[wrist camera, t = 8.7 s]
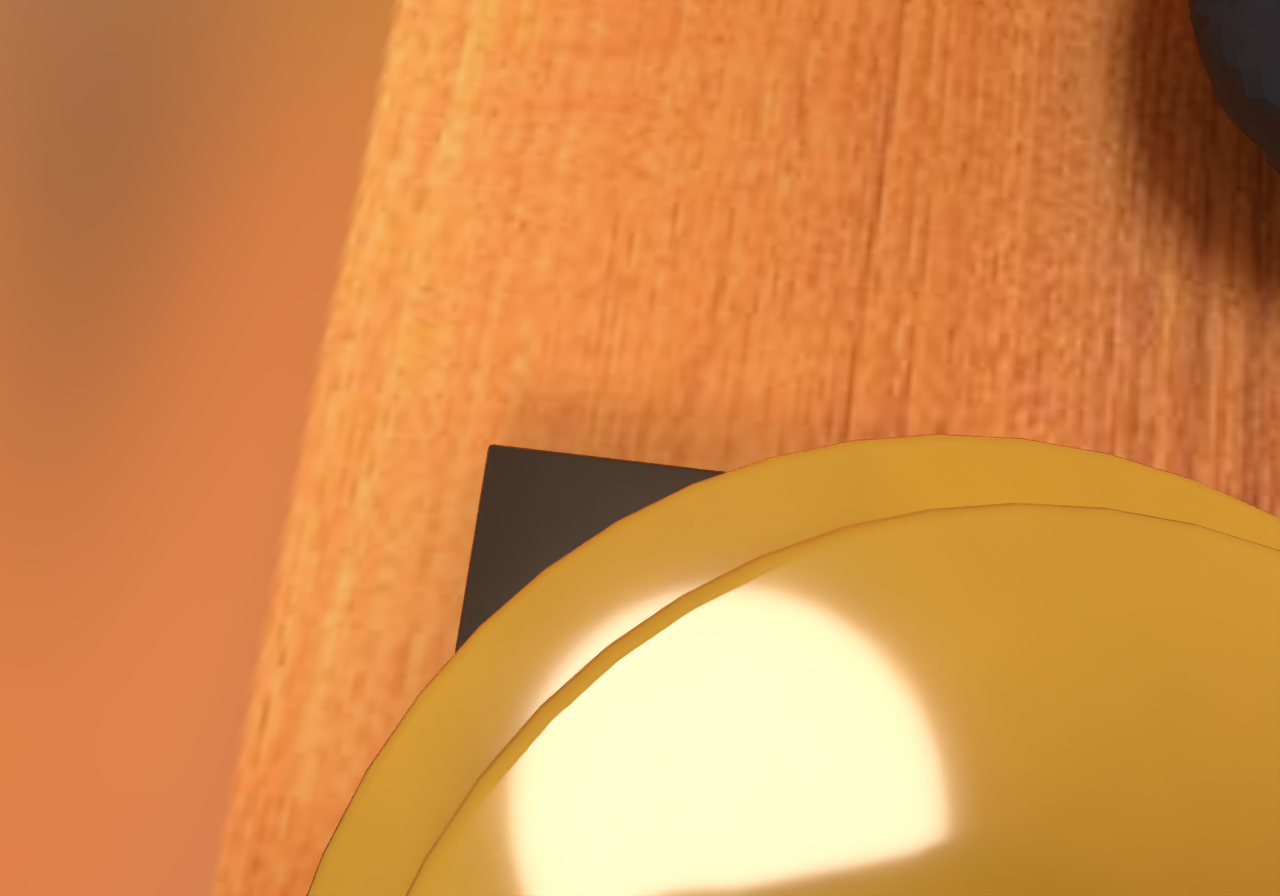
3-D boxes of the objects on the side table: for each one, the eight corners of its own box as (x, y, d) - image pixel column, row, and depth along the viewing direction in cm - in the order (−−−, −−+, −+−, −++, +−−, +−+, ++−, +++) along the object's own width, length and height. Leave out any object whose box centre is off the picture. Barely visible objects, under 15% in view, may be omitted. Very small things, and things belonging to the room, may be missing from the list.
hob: (899, 1332, 20) (915, 1373, 18) (369, 1251, 20) (348, 1285, 19) (953, 511, 23) (969, 498, 22) (496, 457, 24) (487, 440, 22)
